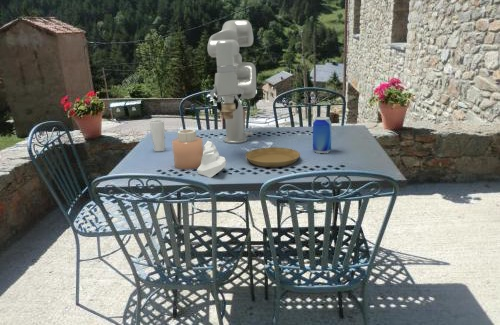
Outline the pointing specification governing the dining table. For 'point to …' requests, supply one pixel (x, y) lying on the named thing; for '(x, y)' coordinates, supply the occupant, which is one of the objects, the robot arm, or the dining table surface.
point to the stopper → (228, 110)
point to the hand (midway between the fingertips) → (227, 109)
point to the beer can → (322, 135)
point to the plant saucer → (272, 156)
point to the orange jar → (187, 149)
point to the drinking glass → (158, 134)
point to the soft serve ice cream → (211, 161)
